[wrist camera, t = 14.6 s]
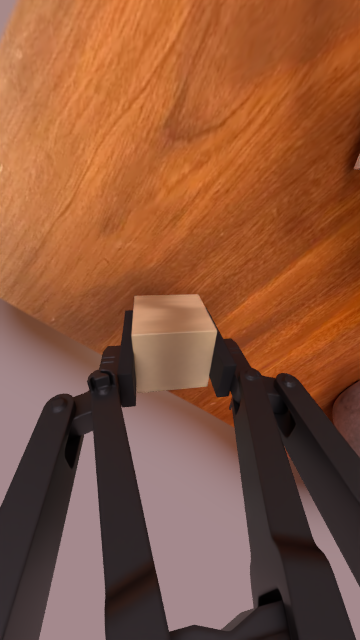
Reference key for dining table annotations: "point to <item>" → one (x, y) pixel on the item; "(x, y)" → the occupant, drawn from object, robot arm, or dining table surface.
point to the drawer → (357, 163)
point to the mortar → (349, 416)
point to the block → (171, 342)
